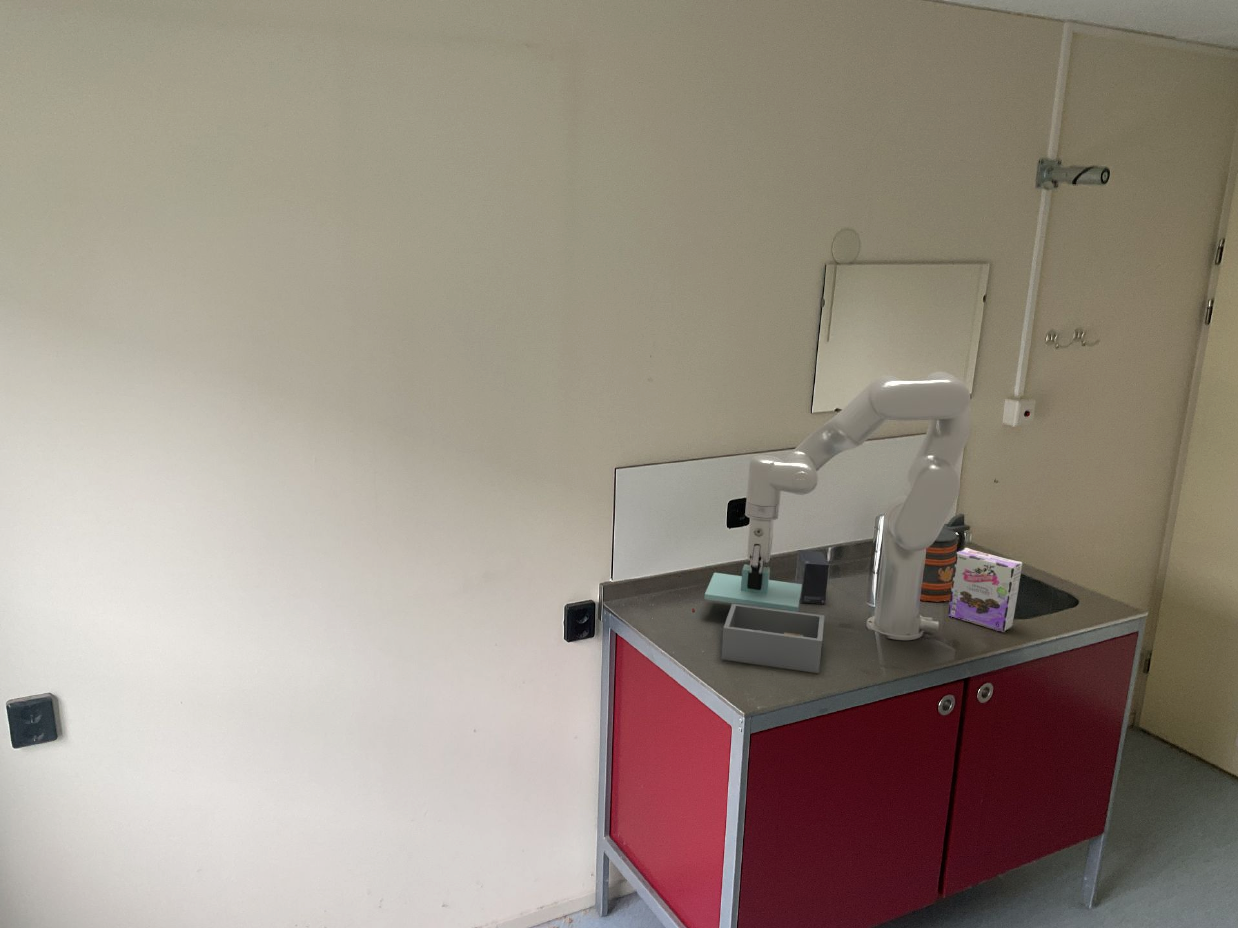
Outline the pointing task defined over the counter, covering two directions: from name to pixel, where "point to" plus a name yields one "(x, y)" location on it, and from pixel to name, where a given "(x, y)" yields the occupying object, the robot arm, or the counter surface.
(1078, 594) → the counter surface
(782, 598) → the lid
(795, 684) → the counter surface
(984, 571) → the candy box
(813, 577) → the small box
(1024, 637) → the counter surface
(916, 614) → the robot arm
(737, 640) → the tub
